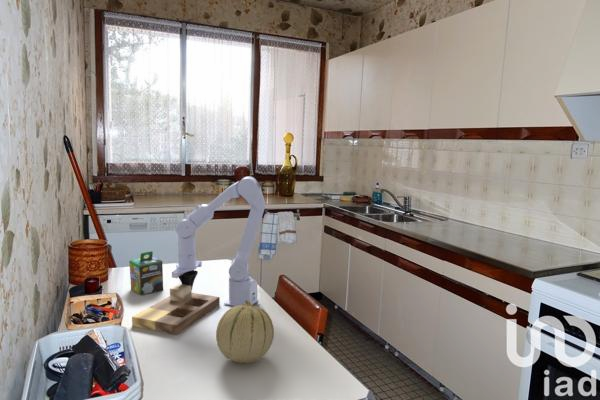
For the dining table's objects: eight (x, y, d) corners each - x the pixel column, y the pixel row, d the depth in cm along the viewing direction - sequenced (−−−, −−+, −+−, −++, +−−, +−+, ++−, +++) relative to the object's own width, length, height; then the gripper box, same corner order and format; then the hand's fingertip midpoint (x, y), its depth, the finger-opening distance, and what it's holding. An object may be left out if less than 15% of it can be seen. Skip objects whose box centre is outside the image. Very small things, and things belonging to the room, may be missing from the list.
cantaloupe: (219, 378, 101) (218, 319, 99) (214, 349, 115) (213, 296, 113) (279, 370, 105) (280, 313, 103) (268, 343, 119) (268, 292, 117)
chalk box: (153, 284, 166) (151, 247, 164) (164, 290, 160) (163, 251, 158) (129, 289, 160) (128, 251, 158) (140, 296, 153) (138, 256, 151)
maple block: (191, 297, 145) (191, 285, 144) (182, 302, 140) (182, 290, 140) (179, 295, 147) (179, 283, 146) (170, 300, 142) (169, 288, 142)
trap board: (219, 305, 146) (219, 297, 145) (176, 335, 124) (176, 325, 123) (180, 298, 151) (180, 290, 151) (132, 326, 129) (131, 316, 129)
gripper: (189, 247, 153) (190, 283, 155) (163, 257, 140) (164, 297, 142) (206, 249, 151) (207, 286, 153) (181, 260, 137) (182, 300, 139)
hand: (187, 292), depth 147 cm, fingers closed
